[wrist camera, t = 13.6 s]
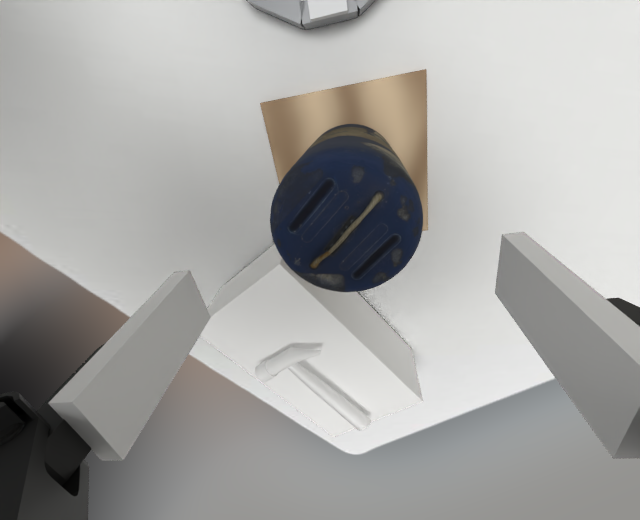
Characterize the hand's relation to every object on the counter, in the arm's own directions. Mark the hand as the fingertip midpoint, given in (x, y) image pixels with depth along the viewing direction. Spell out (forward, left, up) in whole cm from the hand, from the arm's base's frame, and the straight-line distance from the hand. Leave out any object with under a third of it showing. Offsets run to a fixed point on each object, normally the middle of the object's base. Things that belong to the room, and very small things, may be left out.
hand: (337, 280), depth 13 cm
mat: (0, 0, -23) cm, 23 cm away
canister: (0, 0, -22) cm, 22 cm away
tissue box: (-7, -20, -23) cm, 31 cm away
